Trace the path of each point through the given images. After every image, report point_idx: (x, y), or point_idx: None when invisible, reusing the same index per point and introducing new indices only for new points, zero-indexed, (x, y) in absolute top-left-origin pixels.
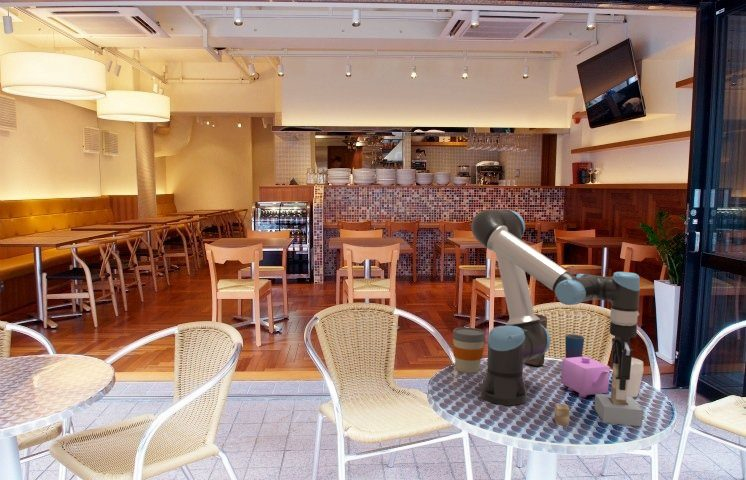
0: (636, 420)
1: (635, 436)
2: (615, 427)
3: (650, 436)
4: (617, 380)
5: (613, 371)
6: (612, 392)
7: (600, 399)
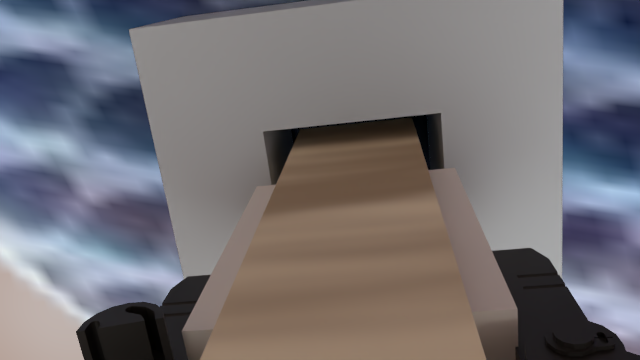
0: None
1: (30, 222)
2: (131, 107)
3: (81, 316)
4: (192, 313)
5: (408, 339)
6: (368, 174)
7: (359, 15)
